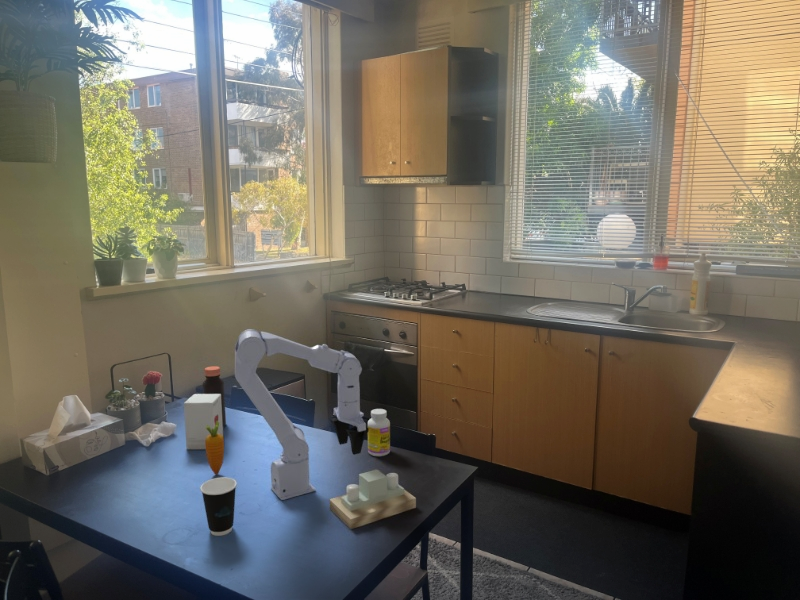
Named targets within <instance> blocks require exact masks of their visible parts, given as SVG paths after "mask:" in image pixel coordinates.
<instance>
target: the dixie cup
mask: <svg viewBox="0 0 800 600" xmlns="http://www.w3.org/2000/svg"><path fill="white" fill-rule="evenodd" d="M237 485H238V483H237V481H236V480H235V479H234V478H232V477H224V476H222V477H215V478H211V479H209V480H208V479H207V480H206V481H205V482H203V483H202V484H201V485H200V488H199V489H200V491H201V494H202V499H203V504H204V509H205V516H206V520H207V526H208V529H209V530H210V534H211V535H213V536H216V537H217V536H219V537H220V536H225V535H228V534H229V533H230V532H232V530H233V526H234V520H235V519H234V518H235V505H236V504H235V501H236V489H237Z"/></svg>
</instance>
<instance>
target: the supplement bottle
mask: <svg viewBox="0 0 800 600" xmlns="http://www.w3.org/2000/svg"><path fill="white" fill-rule="evenodd" d="M387 415H388V414H387V410H386V409H383V408H375V409H372V410H370V417H371V418H369V420H368V421H367V427H368V428H369V431H368V433H367V453H368V454H370V455H371V456H374V457H385V456H387V455H388V454H390V452H391V422H390V420H389V419H388V418H387Z"/></svg>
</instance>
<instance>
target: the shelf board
mask: <svg viewBox="0 0 800 600" xmlns="http://www.w3.org/2000/svg"><path fill="white" fill-rule="evenodd" d="M346 495H347V493H346V494H343V495H340V496H337V497H332V498H330V499H328V500H329V509H330V511H331V512H332V513H334V514H335V516H336V517H337V518H339V519H340V520H341V521H342V523H344V524H345V525H346V526H347V527H348V528H349V529H350V530H353V529H355V528H358V527H362V526H366V525H368V524H371V523H374V522H377V521H380V520H383V519H386V518H389V517H392V516H394V515H398V514H401V513H403V512H407V511H410V510H413V509H416V508H417V498H416V497H415V496H414V495H412V494H411V493H410V492H409V491H407V490H406V489H404V495H401V496H398V497H394V498H391V499H388V500H385V501H382V502H379V503H375V504H372V505H369V506H366V507H363V508H360V509H356V510H353V511H350V510H348V509H347V508H346V507H345V506H344V505H343V504H342V503H341V497H343V496H346Z"/></svg>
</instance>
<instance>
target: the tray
mask: <svg viewBox="0 0 800 600" xmlns="http://www.w3.org/2000/svg"><path fill="white" fill-rule="evenodd" d="M404 490H405V488H404V487H403V486H401V485H400V484H399V474H398V473H395V472H389V473H386V475H385V474H384V473H382V472H381V470H378V469H377V468H375V469H372V470H369V471H366V472H362V473H359V474H358V484H353V483H352V484H347V486H346V494H347V495H346V494H345V495H346V496H343V497H341V503H342V504H343V505H344V506H345V507H346V508H347V509H348V510H350V511H353V510H356V509H360V508H363V507H366V506H369V505H372V504H375V503H379V502H382V501H385V500H388V499H391V498H394V497H398V496H401V495H404Z"/></svg>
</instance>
